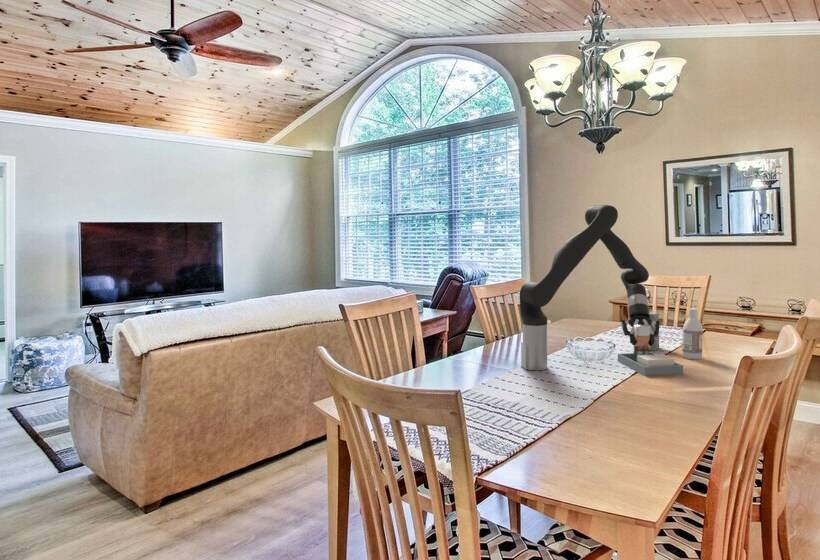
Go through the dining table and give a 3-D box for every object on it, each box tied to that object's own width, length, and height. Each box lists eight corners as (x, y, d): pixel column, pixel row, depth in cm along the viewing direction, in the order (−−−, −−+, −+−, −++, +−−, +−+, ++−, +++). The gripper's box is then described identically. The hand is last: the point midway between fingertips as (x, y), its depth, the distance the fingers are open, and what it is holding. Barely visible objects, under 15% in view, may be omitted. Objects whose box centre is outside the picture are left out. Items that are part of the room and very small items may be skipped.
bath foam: (698, 360, 199) (700, 310, 197) (679, 357, 204) (681, 309, 202) (704, 357, 204) (705, 308, 202) (685, 354, 209) (687, 306, 207)
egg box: (647, 373, 180) (647, 360, 180) (637, 368, 187) (637, 355, 187) (674, 372, 181) (674, 358, 180) (663, 367, 188) (663, 354, 187)
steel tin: (638, 361, 190) (638, 327, 189) (630, 357, 196) (631, 324, 195) (652, 360, 191) (653, 326, 189) (644, 356, 196) (645, 323, 195)
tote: (644, 378, 178) (644, 367, 178) (617, 363, 198) (617, 353, 198) (682, 376, 179) (683, 365, 179) (652, 362, 199) (652, 352, 198)
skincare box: (655, 351, 216) (656, 314, 214) (637, 349, 220) (638, 313, 219) (659, 347, 223) (660, 311, 221) (642, 345, 227) (643, 310, 225)
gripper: (619, 302, 200) (623, 338, 190) (659, 302, 196) (665, 339, 186) (618, 313, 206) (621, 348, 196) (656, 313, 202) (662, 350, 192)
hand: (642, 344), depth 191 cm, fingers closed on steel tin, 5 cm apart
